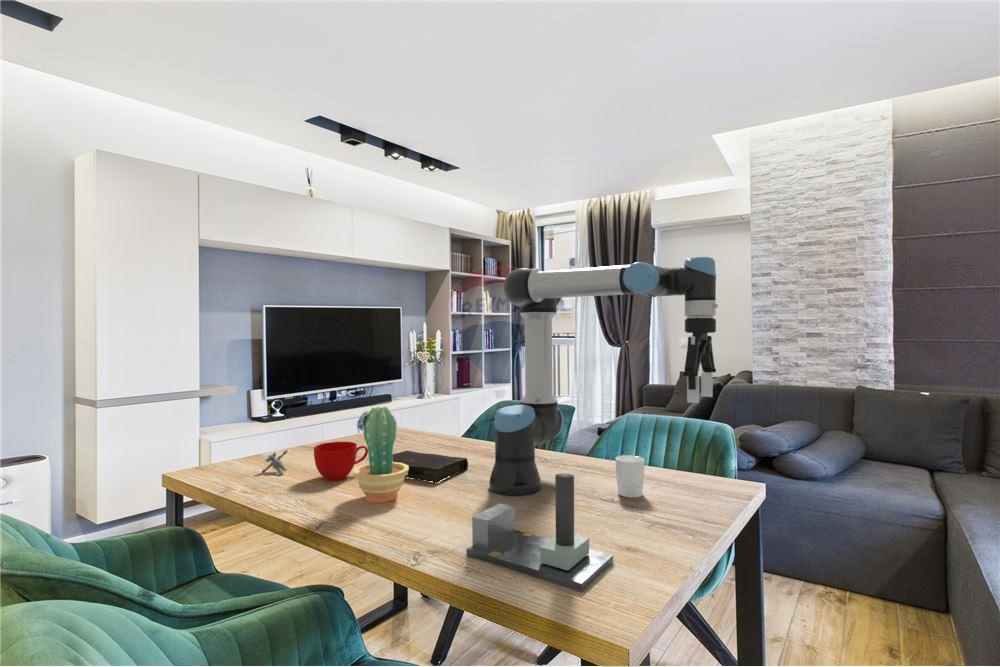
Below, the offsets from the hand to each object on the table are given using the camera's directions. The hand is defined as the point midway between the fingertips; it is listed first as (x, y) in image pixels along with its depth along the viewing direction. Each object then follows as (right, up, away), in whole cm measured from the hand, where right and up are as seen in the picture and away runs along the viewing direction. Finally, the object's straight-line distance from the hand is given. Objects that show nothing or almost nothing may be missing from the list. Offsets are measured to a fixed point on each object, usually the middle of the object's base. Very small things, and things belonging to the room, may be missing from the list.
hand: (700, 399), depth 135 cm
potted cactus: (-85, -29, +10) cm, 90 cm away
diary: (-78, -29, +35) cm, 90 cm away
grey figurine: (-125, -29, +36) cm, 133 cm away
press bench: (-44, -28, -30) cm, 60 cm away
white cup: (-15, -28, +11) cm, 34 cm away
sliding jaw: (-39, -27, -33) cm, 58 cm away
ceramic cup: (-102, -29, +30) cm, 110 cm away
